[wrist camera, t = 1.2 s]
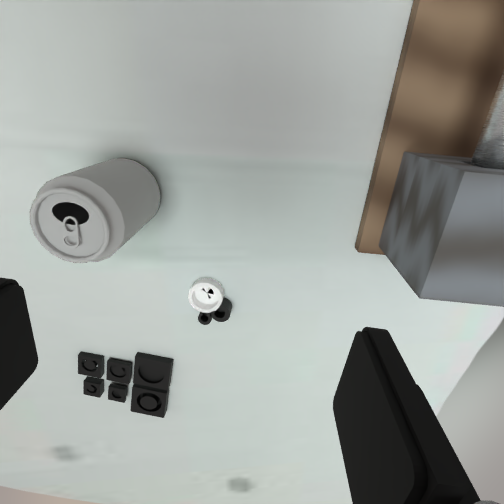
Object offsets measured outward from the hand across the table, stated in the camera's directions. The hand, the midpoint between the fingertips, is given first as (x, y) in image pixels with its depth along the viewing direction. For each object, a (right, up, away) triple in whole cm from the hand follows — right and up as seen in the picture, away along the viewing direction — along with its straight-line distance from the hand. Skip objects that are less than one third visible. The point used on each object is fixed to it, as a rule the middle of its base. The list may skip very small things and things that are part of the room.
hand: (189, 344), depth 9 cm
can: (-12, +9, +27) cm, 31 cm away
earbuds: (-12, -10, +36) cm, 39 cm away
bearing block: (+22, +14, +22) cm, 34 cm away
